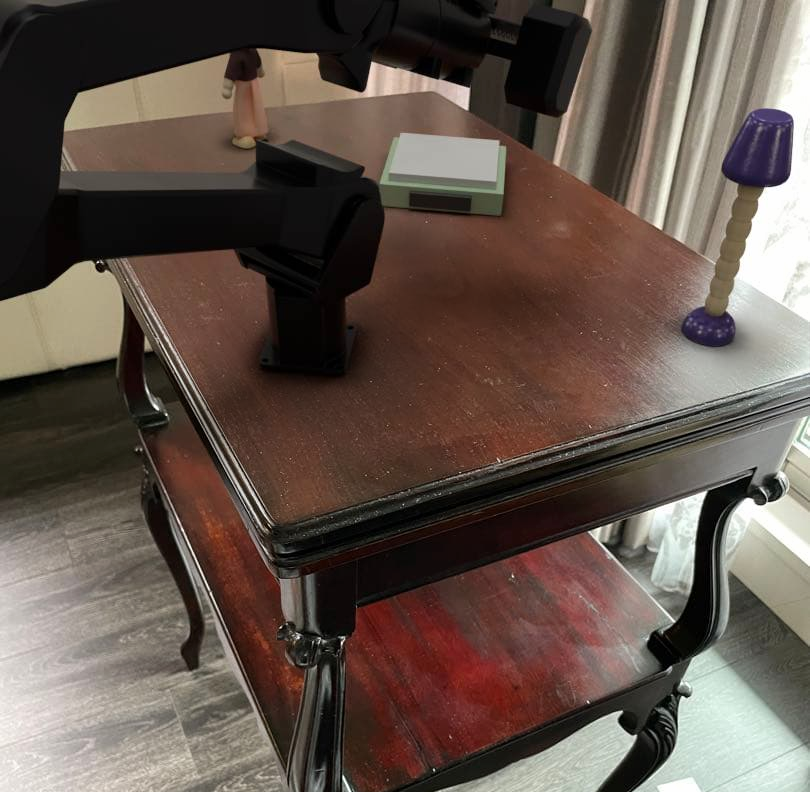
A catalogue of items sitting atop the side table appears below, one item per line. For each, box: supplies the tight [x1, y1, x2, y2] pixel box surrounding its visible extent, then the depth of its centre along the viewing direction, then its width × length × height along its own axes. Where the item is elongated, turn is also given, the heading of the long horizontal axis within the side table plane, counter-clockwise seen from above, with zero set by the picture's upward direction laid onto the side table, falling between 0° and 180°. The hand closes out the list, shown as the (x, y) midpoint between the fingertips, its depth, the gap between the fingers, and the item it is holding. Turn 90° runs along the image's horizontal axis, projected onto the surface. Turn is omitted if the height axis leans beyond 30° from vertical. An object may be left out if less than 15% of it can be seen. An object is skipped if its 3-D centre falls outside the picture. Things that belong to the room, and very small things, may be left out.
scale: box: [378, 132, 507, 217], centre depth 85 cm, size 12×12×3 cm
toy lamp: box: [680, 107, 795, 347], centre depth 62 cm, size 5×5×17 cm
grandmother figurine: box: [221, 49, 269, 150], centre depth 88 cm, size 8×4×13 cm, turn 168°
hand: (517, 58), depth 67 cm, fingers open, 9 cm apart
